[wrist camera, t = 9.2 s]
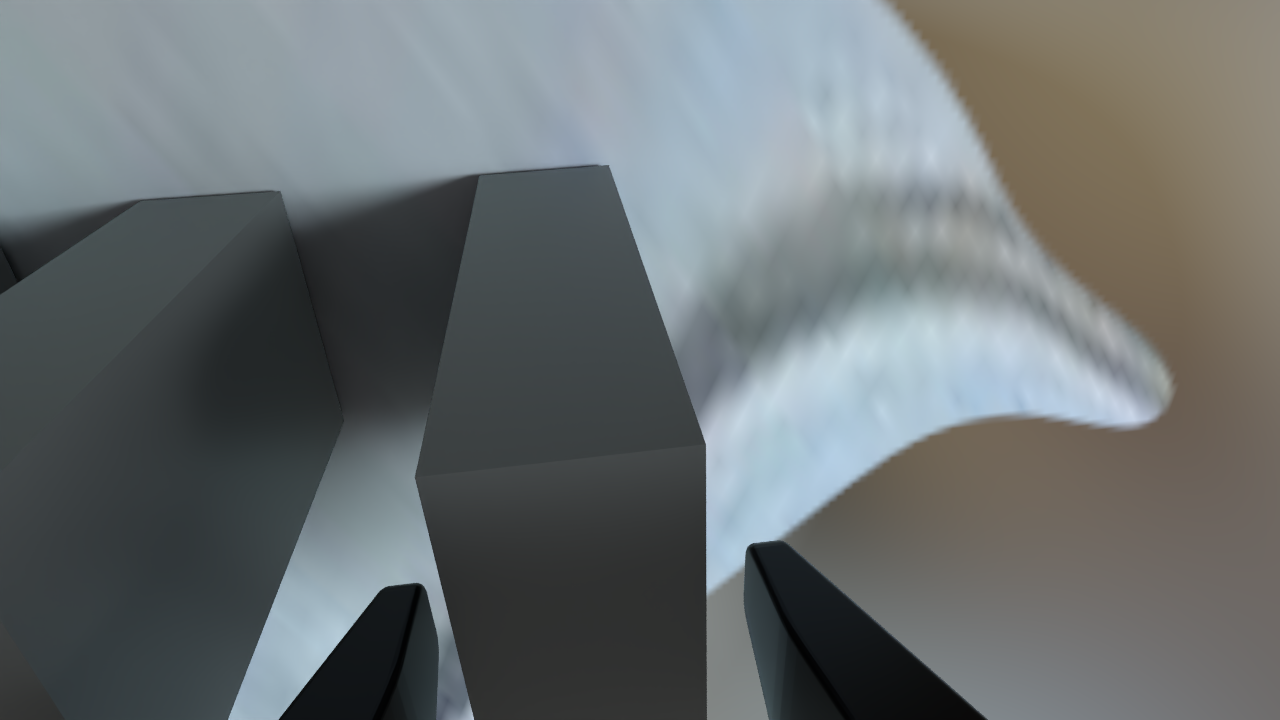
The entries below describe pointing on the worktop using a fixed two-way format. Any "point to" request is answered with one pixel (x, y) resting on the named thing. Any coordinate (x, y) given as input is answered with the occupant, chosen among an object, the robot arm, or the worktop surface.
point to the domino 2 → (565, 466)
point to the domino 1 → (155, 459)
